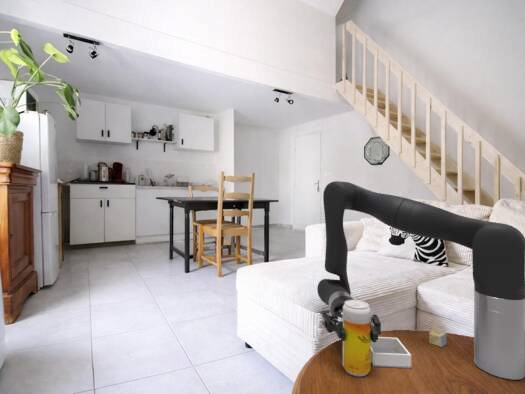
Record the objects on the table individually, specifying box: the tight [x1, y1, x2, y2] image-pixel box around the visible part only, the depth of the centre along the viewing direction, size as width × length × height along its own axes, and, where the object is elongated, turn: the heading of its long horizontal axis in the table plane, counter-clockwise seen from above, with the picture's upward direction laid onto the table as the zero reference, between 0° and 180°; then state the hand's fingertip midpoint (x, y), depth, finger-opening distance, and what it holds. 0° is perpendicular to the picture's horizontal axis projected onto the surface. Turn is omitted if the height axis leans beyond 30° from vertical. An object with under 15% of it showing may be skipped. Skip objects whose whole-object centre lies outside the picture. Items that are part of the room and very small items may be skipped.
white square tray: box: [371, 336, 412, 369], centre depth 73 cm, size 9×9×3 cm
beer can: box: [341, 299, 372, 378], centre depth 67 cm, size 6×6×15 cm
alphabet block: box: [428, 329, 447, 348], centre depth 80 cm, size 3×3×3 cm
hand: (359, 337), depth 65 cm, fingers closed on beer can, 6 cm apart
